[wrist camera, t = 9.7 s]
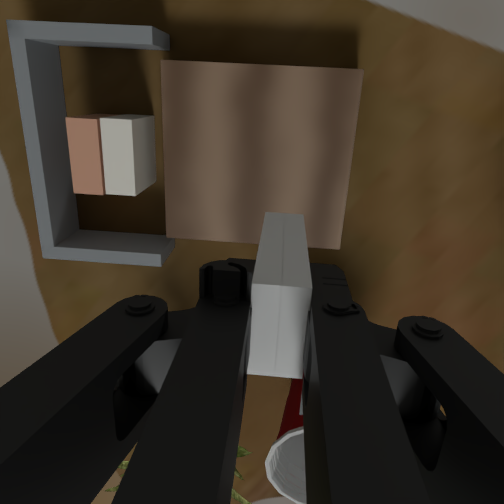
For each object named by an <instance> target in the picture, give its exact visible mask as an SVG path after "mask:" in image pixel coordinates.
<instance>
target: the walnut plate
mask: <svg viewBox="0 0 504 504" xmlns="http://www.w3.org/2000/svg"><path fill="white" fill-rule="evenodd" d="M363 73H364V69H347V68H326V67H305V66H284V65H262V64H241V63H220V62H199V61H178V60H161V89H162V120H163V150H164V181H165V212H166V237H167V238H181V239H196V240H210V241H224V242H239V243H253V244H259V243H260V238H261V233H262V227H263V222H264V217H265V212H274V213H289V214H303V216H304V224H305V232H306V240H307V247H311V248H325V249H339V250H340V243H341V236H342V229H343V221H344V214H345V206H346V199H347V192H348V184H349V177H350V169H351V162H352V155H353V147H354V140H355V133H356V125H357V118H358V110H359V103H360V96H361V88H362V81H363Z"/></svg>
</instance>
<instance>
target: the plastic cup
mask: <svg viewBox="0 0 504 504" xmlns="http://www.w3.org/2000/svg"><path fill="white" fill-rule="evenodd" d="M303 377H304V368H303ZM303 377H302V379H297V378H293V380H292V383H291V387H290V392H289V395H288V398H287V401H286V406H285V410H284V414H283V418H282V423H281V427H280V431H279V434H278V436H277V440H276V441H275V442H274V443H273V445H272V447H271V449H270V452H269V454H268V456H267V459H266V461H265V465H266V471H267V477H268V479H269V481H270V482H271V483H272V484H273V486H274V487H275V488H276V490H277V491H278V492H279V493H280V494H282V495H284V496H285V497H287V498H288V499H290V500H292V501H293V502H295V503H297V504H307V502H306V478H305V453H304V429H303V415H299V413H300V404H301V395H302V386H303Z"/></svg>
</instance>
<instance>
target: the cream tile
mask: <svg viewBox="0 0 504 504" xmlns="http://www.w3.org/2000/svg"><path fill="white" fill-rule="evenodd" d="M100 127H101V139H102V152H103V164H104V177H105V189H106V194H113V195H127V196H136V195H138V194H139V193H141V192H142V191H144V190H145V189H146V188H148V187H149V186H151V185H152V184H153V183H155V182H156V152H155V123H154V116H152V115H135V114H124V115H117V116H110V117H103V118H100Z"/></svg>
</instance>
